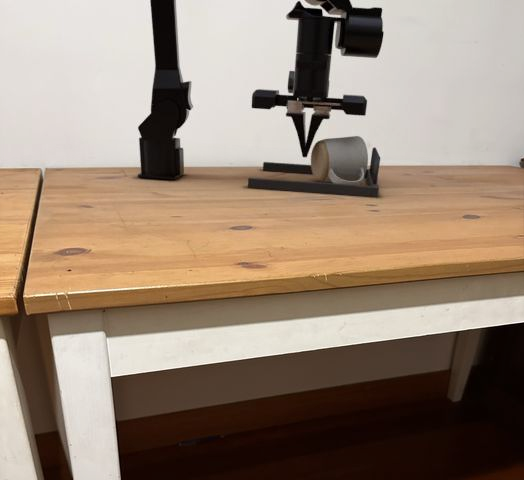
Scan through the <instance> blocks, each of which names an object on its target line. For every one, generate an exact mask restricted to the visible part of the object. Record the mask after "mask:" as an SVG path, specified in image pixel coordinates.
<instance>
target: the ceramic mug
mask: <svg viewBox="0 0 524 480" xmlns="http://www.w3.org/2000/svg"><path fill="white" fill-rule="evenodd" d="M368 164H369V153H368V148H367V144H366V142H365V140H364V139H363V137H362V136H359V135H354V136H353V135H352V136H343V137H329V138H324V139H321V140H317V141H316V142H315V144H314V145H313V147H312V149H311V153H310V165H311V169H312V173H313V174H312V175H313V177H314V179H315V180H316V182H322V183H336V184H350V185H363V182H364V179H365V178H364V176H365V173H366V170H367V169H368Z"/></svg>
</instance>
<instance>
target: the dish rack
mask: <svg viewBox="0 0 524 480" xmlns="http://www.w3.org/2000/svg"><path fill="white" fill-rule="evenodd" d="M380 163H381V156H380V154H379V152H378V150H377V148H376V147H375V146H374V147H372V150H371V158H370V163H369V168H367V170H366V173H365V176H364V179H367V183H368V185H364V184H362V185H350V184H336V183H324V182H319V181H309V180H308V181H306V180H291V179H277V178H263V177H247V188H248V189H258V190H274V191H287V192H299V193H300V192H302V193H315V194H326V195H327V194H330V195H343V196H355V197H356V196H357V197H369V198H378V196H379V189H380V188H379V184H378V177H379V171H380ZM262 171H264V172H277V173H278V172H279V173H292V174H293V173H294V174H307V175H313V173H312V169H311V164H300V163H286V162H271V161H263V163H262Z"/></svg>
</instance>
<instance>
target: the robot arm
mask: <svg viewBox="0 0 524 480" xmlns="http://www.w3.org/2000/svg"><path fill="white" fill-rule="evenodd" d="M149 1H150V2H149V3H150V14H151V28H152V41H153V54H154V65H155V66H154V74H153V82H152V89H151V102H150V113H149V115H148V116H147V117H146V118H144V120H143V121H142V122H141V123H140V124H139V125H138V127H137V130H138V132H139V135H140V137H139V138H138V143H139V144H138V146H139V161H140V173H137V177H138V178H145V179H157V180H158V179H159V180H172V181H173V180H176V179H178V178H180V177H181V176H183V175H184V174H185V163H184V162H185V157H184V156H185V155H184V153H185V152H184V148H183V147H181V137H176V135H177V133H178V130H179V129H181V128H182V127H183V126H184V124H185V123H186V122H187V120H188V119H189V116H190V111H192V110H193V108H194V105H193V102H192V99H191V93H192V84H193V83H192V81H191V80H187V81H184V78H183V75H182V70H181V65H180V50H179V30H178V29H179V28H178V17H177V14H178V12H177V0H149ZM304 1H305V3H307V4H309V5H310V6H314V7H305V6H304V5H303V4H302V2H301V1H300V0H298V1H297V2H296V3H295V4H294V6H293V8H292V9H291V10H290V11H289V12H287V14H286V15H285V18H286V20H288V21H297V33H296V47H295V61H294V70H289V71H288V79H287V93H288V94H280V90H278V89H264V88H263V89H262V88H258V89H255V90H254V91H253V92H252V94H251V109H257V110H258V109H259V110H272V108H273V109H274V108H276V107H286V112H285V117H289V118H291V120H292V123H293V125H294V128H295V131H296V134H297V138H298V142H299V143H298V144H299V147H300V151H301V157H302V158H308V155H309V153H310V150H311V147H312V144H313V142H314V139H315V136H316V134H317V132H318V130H319V128H320V127H321V124H322V123H323V121H324V120H330V118H331V112H332V110H333V111H342V112H344V114H345V115H348V116H360V117H361V116H364V117H365V116H366V114H367V107H368V100H367V98H366V97H365V96H364V95H359V94H356V95H355V94H343V95H342V96H343V97H342V98H340V97H329V90H330V75H331V74H330V73H331V65H332V64H331V63H332V55H333V44H334V47H335V49H337V50H339V52H340V55H341V56H342V57H350V58H351V57H352V58H353V57H354V58H368V59H370V58H371V59H377V58H378V56H379V55H380V52H381V48H382V45H383V42H384V41H383V39H384V30H383V29H384V25H383V24H384V22H383V18H382V15H383V8H382V7H377V6H376V7H373V6H372V7H369V8H368V7H356V6H355V7H353V5H352V2H351V0H304ZM317 6H319V7H321V8H317ZM323 10H324V11H325V12H326V13H327V14H328V15H330V16H328V15H324V13H323ZM337 16H338V17H337ZM339 16H340V17H339ZM335 25H336V28H335ZM335 29H336V30H335ZM334 33H335V37H334ZM305 109H313V111H314V112H313V113H312V114H311V117H310V121H309V127H308V131H307V132H306V130H307V129H306V111H304V110H305Z"/></svg>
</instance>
